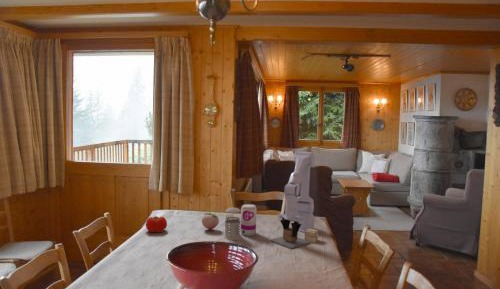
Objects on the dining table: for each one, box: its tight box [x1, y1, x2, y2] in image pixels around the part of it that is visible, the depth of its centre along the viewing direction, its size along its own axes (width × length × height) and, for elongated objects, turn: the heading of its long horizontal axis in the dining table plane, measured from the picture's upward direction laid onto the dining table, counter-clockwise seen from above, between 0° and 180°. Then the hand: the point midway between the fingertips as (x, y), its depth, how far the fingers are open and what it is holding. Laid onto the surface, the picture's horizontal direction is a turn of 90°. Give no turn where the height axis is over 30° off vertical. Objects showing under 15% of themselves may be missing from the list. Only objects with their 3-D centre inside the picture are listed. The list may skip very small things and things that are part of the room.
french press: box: [222, 188, 243, 241], centre depth 190 cm, size 10×12×25 cm
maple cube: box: [304, 229, 319, 243], centre depth 189 cm, size 5×5×5 cm
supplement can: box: [240, 203, 258, 237], centre depth 197 cm, size 8×8×15 cm
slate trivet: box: [269, 236, 311, 250], centre depth 185 cm, size 14×14×1 cm
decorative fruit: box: [201, 211, 220, 231], centre depth 202 cm, size 9×8×10 cm
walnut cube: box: [282, 227, 299, 242], centre depth 185 cm, size 5×5×5 cm
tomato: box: [145, 215, 168, 233], centre depth 198 cm, size 11×11×8 cm
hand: (290, 235), depth 185 cm, fingers closed on walnut cube, 5 cm apart
